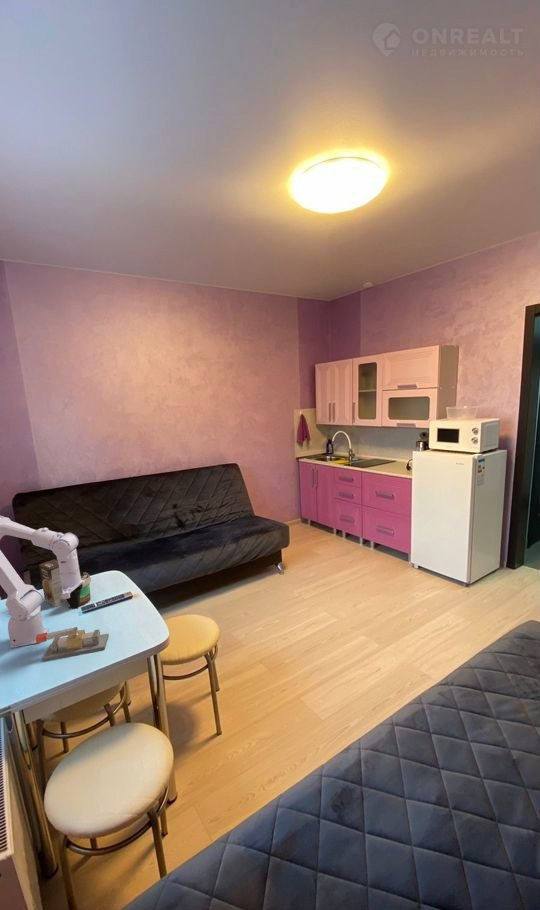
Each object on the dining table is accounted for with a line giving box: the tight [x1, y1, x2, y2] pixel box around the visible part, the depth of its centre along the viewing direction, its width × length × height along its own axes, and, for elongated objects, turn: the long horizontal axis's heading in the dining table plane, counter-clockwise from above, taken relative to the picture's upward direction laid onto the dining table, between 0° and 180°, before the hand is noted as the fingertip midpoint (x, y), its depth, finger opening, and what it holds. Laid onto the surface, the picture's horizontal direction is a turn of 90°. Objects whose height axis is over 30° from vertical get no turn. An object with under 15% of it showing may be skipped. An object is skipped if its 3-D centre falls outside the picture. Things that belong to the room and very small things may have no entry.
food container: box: [66, 572, 92, 609], centre depth 153 cm, size 12×6×10 cm, turn 168°
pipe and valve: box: [50, 629, 101, 653], centre depth 124 cm, size 14×4×4 cm, turn 103°
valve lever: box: [35, 626, 79, 644], centre depth 122 cm, size 12×2×2 cm, turn 108°
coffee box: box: [38, 558, 68, 608], centre depth 155 cm, size 9×6×16 cm
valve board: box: [42, 633, 110, 662], centre depth 125 cm, size 18×7×1 cm, turn 103°
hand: (75, 608), depth 130 cm, fingers closed
